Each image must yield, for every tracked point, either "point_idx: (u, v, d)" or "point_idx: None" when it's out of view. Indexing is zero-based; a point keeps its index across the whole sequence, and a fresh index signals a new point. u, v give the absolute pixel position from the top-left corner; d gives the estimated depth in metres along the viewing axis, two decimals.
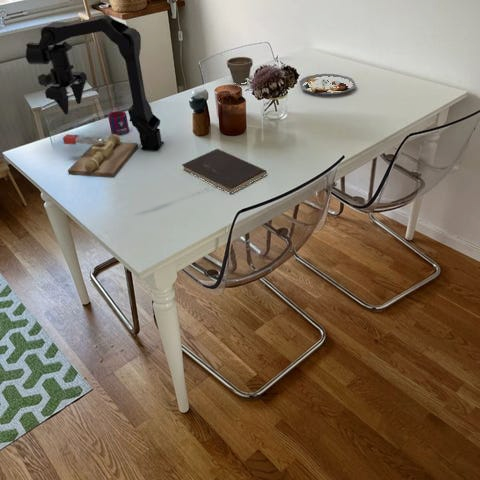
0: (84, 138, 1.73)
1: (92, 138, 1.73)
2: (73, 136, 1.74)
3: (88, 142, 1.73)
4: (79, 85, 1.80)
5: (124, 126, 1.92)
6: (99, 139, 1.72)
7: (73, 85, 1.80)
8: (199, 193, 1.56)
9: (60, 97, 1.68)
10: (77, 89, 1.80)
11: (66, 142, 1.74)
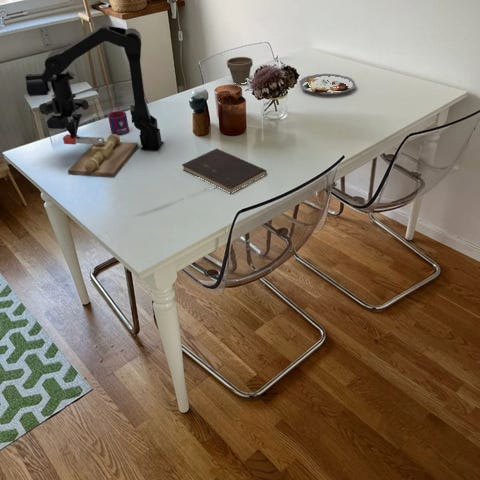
0: (84, 138, 1.73)
1: (92, 138, 1.73)
2: (73, 136, 1.74)
3: (88, 142, 1.73)
4: (75, 118, 1.73)
5: (124, 126, 1.92)
6: (99, 139, 1.72)
7: None
8: (199, 193, 1.56)
9: (62, 127, 1.65)
10: None
11: (66, 142, 1.74)
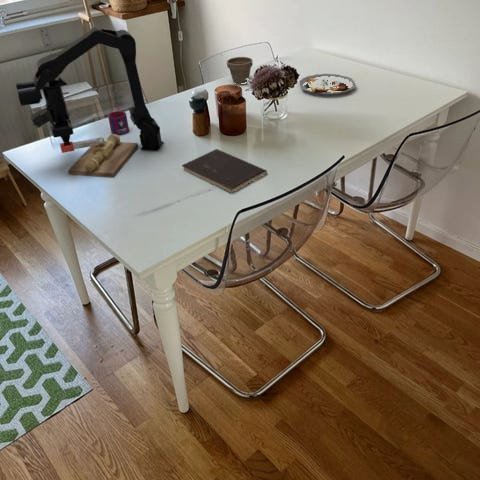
0: (83, 142, 1.71)
1: (91, 140, 1.72)
2: (70, 143, 1.70)
3: (88, 145, 1.71)
4: None
5: (124, 126, 1.92)
6: (100, 139, 1.72)
7: None
8: (199, 193, 1.56)
9: (71, 133, 1.61)
10: None
11: (64, 150, 1.69)
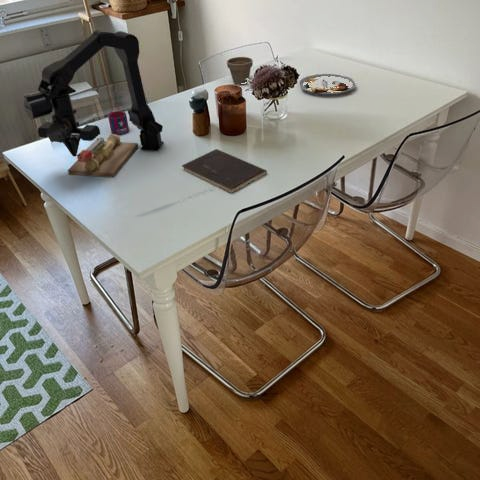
0: (93, 146, 1.68)
1: (96, 142, 1.70)
2: (85, 151, 1.65)
3: (97, 147, 1.70)
4: None
5: (124, 126, 1.92)
6: (101, 139, 1.72)
7: (67, 138, 1.61)
8: (200, 193, 1.56)
9: (99, 132, 1.60)
10: None
11: (87, 159, 1.63)
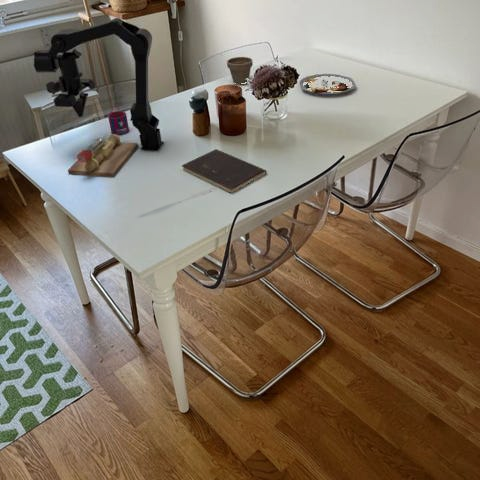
0: (93, 146, 1.68)
1: (96, 142, 1.70)
2: (85, 151, 1.65)
3: (97, 147, 1.70)
4: (81, 97, 1.74)
5: (124, 126, 1.92)
6: (101, 139, 1.72)
7: None
8: (200, 193, 1.56)
9: (69, 105, 1.66)
10: None
11: (87, 159, 1.63)
